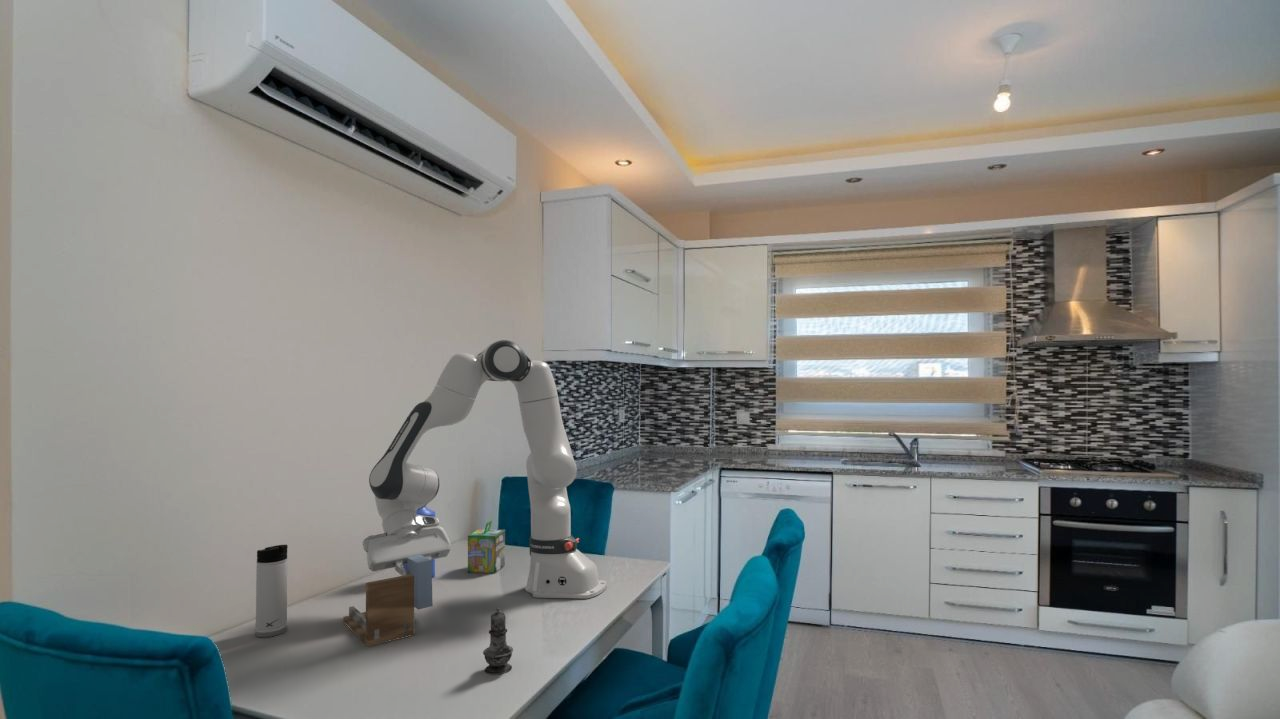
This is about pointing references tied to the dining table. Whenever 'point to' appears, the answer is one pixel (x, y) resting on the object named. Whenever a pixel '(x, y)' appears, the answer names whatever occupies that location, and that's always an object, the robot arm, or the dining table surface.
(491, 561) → the chalk box
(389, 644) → the dining table surface
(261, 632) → the travel mug
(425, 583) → the pale blue rectangular block
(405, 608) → the brown wooden holder
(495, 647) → the salt shaker
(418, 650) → the dining table surface
